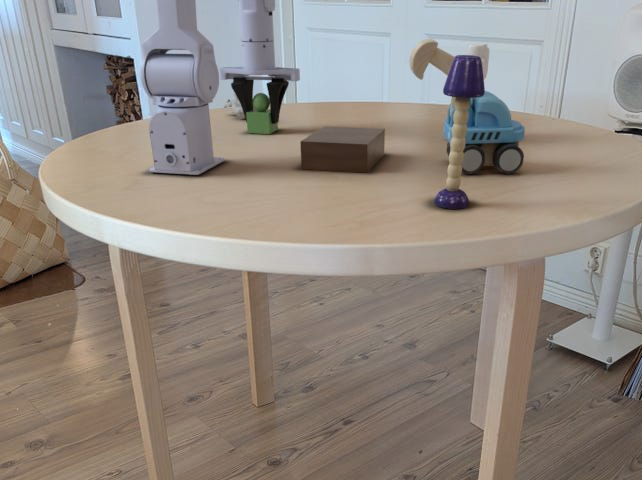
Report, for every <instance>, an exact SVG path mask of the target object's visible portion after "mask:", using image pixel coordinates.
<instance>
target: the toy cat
mask: <svg viewBox="0 0 642 480" xmlns="http://www.w3.org/2000/svg"><path fill="white" fill-rule="evenodd" d="M232 91H233V93H232V95H233V99H234V100H231V99H229V98H228V99H227V100H226V101H225V104H224V105H223V108H224V109H227V108H232V109H231V110H232V114H231V115H232V116H236V117H237V118H238V119H240V120H246V119H245V115H244V112H243V109H242V106H241V104H240V102H239V99H238V97H237V96H236V94H235V92H234V90H233V89H232ZM254 109H255V108H254V106H253V110H254Z"/></svg>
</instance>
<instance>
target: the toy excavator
mask: <svg viewBox="0 0 642 480" xmlns="http://www.w3.org/2000/svg"><path fill="white" fill-rule="evenodd" d="M438 46H439V42H438V41H436V40H434V39H433V38H425V39H422V40H420V41H418V43H417V44H416V45H415V46H414V47H413V48H412V50H411V53H410V56H409V66H410V70H411V72H412V74H413V75H414V76H415V77H416V78H417V79H418V80H421V81H422V80H423V79H424V76H425V75H424V74H425V73H426V70H427V68H428V66H429V64H431V65H432V66H434V67H435V68H436V69H437V70H439V71H441V73H443V74H445V75H446V76H448V73H449V70H450V68H451V65H452V62H453V59H454V57H455V56H454V55H452V54H450V53H448V52H447V51H445V50H443V49H441V48H439V47H438ZM450 99H451V100H450V103H449V105H448V107H447V115H446V120H444V121H443V128H442V135H443V137H444V138H445V139H446V140H447V143H446V154H447V156H448V157H449V154H450V152H451V147H450V143H451V139H452V137H453V135H452V127H453V125H454V120H453V115H454V112H455V110H456V108H455V99H456V97H451V98H450ZM468 113H469V118H468V121H467V123H466V125H467V133H466V136H465V141H466V144H465V148H464V150H463V153H464V159H463V162H462V164H461V165H462V173H463V174H465V175H474V174H476V173H478V172H479V171H481V170H482V169H483V167H495V168H496V169H497V170H498V171H499V172H500V173H503V174H506V175H511V174H512V175H513V174H514V173H516V172H518V171H519V170H520V169H521V167H522V166H523V165H524V159H525V155H524V151H523V149H522V148H520V142H522V141H523V140H524V138H525V130H526V129H525V126H524V125H522V123H521V122H520V121H518V120H516V119H515V120H514V119H512V113H511V111H510V109H509V107H508V105H507V104H506V103H505V102H504V100H502V99H501V98H499V97H498V96H496V95H495V94H493V93H492V92H490V91H487V90H485V93H484V95H483V96H482V97H477V98H470V106H469V108H468Z"/></svg>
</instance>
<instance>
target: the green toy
mask: <svg viewBox="0 0 642 480" xmlns="http://www.w3.org/2000/svg"><path fill="white" fill-rule="evenodd" d="M252 103H253V106H254V108H255V109H254V110H251V111H249V112H247V113H246V116H247V123H246V128H247V129H246V131H247V134H257V135H258V134H259V135H270V134H273V133H275V132H276V131H278V130H279V124H278V123H279V122H278V123H276V124H272V122H271V115H270V100H269V95H267V94H266V93H265V92H264V93H263V92H258V93H256V94H254V95H253V101H252Z"/></svg>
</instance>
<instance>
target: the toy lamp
mask: <svg viewBox="0 0 642 480" xmlns="http://www.w3.org/2000/svg"><path fill="white" fill-rule="evenodd" d="M446 76H447V75H446ZM485 89H486V88H485V79H484V78H483V69H482V61H481V58H480V57H479V56H473V55H469V54H459V55H458V54H457V55H455V56H454V59H453V62H452V65H451V68H450V70H449V73H448V76H447V77H446V79H445V81H444V85H443V89H442V93H443V95H444V96H447V97H451V98H452V97H456V99H455V108H456V110H455V112H454V115H453V120H454V125H453V127H452V135H453V137H452V139H451V143H450V147H451V152H450V154H449V156H448V163H449V164H448V166H447V169H446V170H447V171H446V173H447V178H446V181H445V187H446V188H443V189H441V190H440V191H438V192H437V194H435V198H434V200H433V204H434V206H437V207H438V208H443V209H447V210H448V209H449V210H450V209H451V210H459V209H465V208H467V207H468V206H469V205H470V200H469V197H468V195H467V193H466V192H465V191H464V190H462V189H460V187H461V178H460V177H461V176H462V173H463V172H462V165H461V164H462V162H463V159H464V153H463V150H464V148H465V144H466V141H465V136H466V133H467V125H466V123H467V121H468V118H469V113H468V108H469V106H470V98H477V97H482V96H483V95H484V93H485V91H486V90H485Z"/></svg>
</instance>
